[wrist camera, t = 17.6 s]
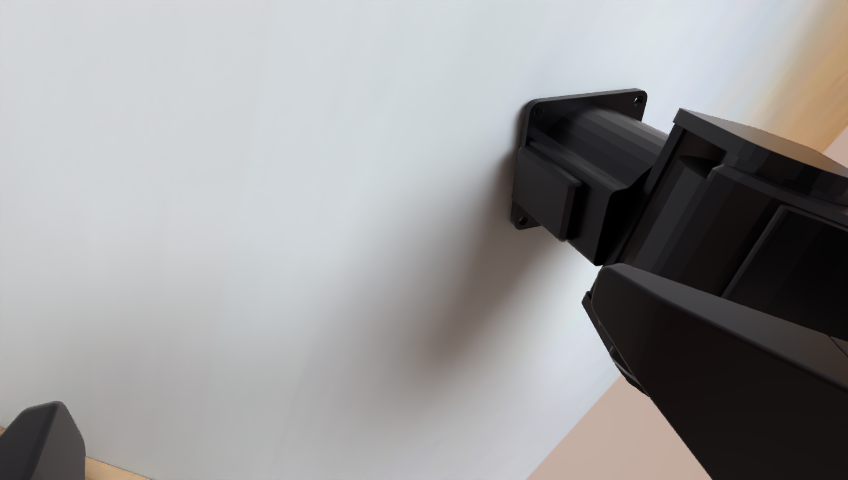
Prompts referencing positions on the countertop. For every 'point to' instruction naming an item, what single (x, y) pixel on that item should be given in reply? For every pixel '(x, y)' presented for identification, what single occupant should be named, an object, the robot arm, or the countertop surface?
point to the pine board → (104, 470)
